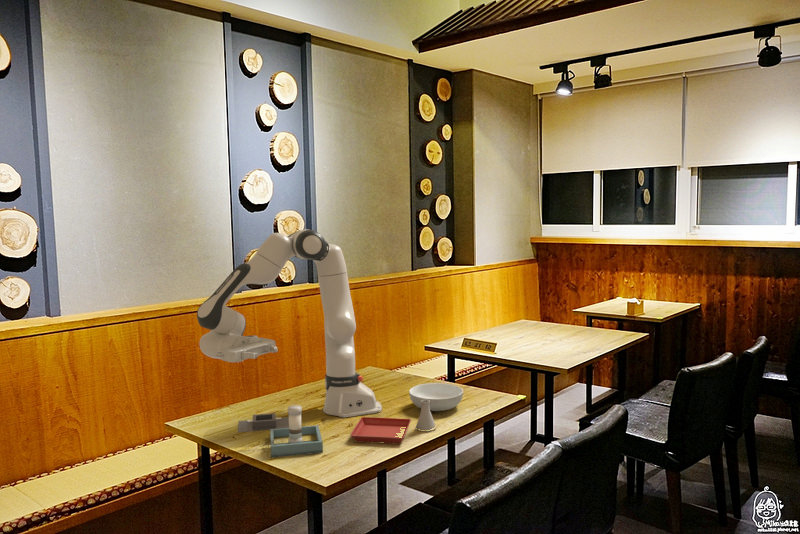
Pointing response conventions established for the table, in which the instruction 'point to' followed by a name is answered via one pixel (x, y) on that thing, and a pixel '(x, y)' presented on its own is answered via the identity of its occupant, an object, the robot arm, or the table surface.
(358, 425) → the plant saucer
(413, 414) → the table surface
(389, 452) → the table surface
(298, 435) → the cylinder
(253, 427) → the board
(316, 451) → the tray
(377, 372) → the table surface
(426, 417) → the flask
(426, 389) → the serving bowl
